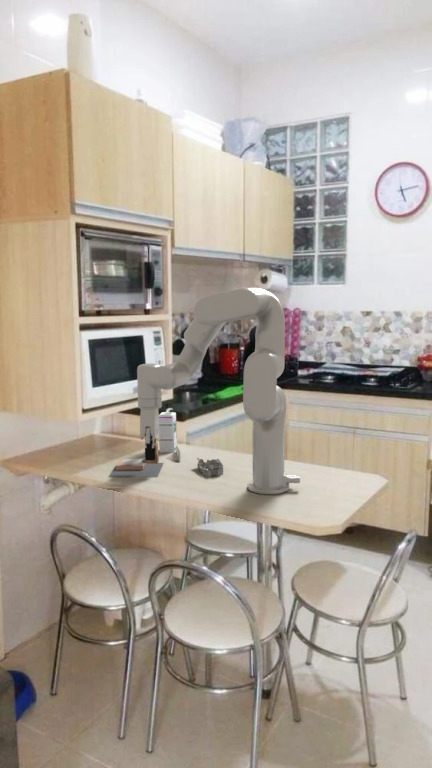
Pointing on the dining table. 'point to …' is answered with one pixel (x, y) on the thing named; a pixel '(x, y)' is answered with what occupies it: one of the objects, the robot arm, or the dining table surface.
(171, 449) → the syrup box
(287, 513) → the dining table surface
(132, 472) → the mat
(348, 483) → the dining table surface
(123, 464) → the turner
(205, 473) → the egg carton
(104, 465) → the dining table surface
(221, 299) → the robot arm
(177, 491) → the dining table surface
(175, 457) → the ceramic fragment
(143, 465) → the tile
